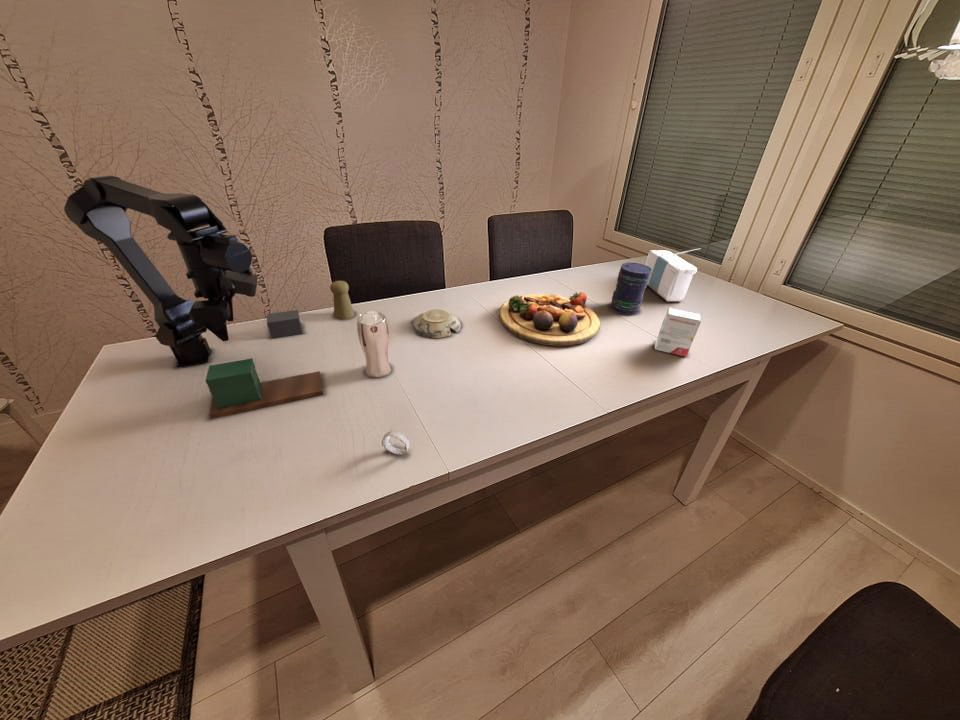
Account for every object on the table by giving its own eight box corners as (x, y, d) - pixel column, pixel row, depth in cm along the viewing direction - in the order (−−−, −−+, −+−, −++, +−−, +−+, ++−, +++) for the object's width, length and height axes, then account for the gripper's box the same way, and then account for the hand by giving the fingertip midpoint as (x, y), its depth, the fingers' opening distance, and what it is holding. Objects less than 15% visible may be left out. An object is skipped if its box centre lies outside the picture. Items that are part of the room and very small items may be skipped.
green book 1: (213, 399, 76) (209, 390, 75) (217, 384, 80) (212, 374, 79) (257, 391, 79) (253, 381, 78) (258, 376, 83) (255, 367, 82)
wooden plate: (567, 296, 136) (571, 274, 132) (619, 339, 112) (627, 315, 107) (485, 304, 127) (487, 282, 122) (523, 354, 102) (526, 328, 98)
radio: (638, 281, 152) (654, 231, 141) (657, 281, 153) (674, 232, 142) (665, 303, 135) (684, 249, 124) (685, 303, 136) (707, 249, 125)
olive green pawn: (348, 320, 113) (342, 287, 107) (330, 318, 114) (323, 284, 108) (357, 312, 118) (352, 279, 112) (340, 309, 119) (334, 277, 113)
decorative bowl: (426, 311, 121) (402, 331, 110) (426, 300, 119) (401, 319, 108) (468, 321, 117) (447, 343, 105) (468, 310, 115) (447, 332, 103)
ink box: (686, 349, 109) (701, 313, 102) (686, 357, 105) (702, 321, 98) (655, 341, 112) (668, 306, 105) (654, 349, 108) (667, 313, 101)
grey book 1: (269, 330, 102) (266, 322, 100) (269, 321, 106) (267, 313, 104) (300, 326, 105) (298, 318, 103) (299, 317, 109) (297, 309, 107)
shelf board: (210, 418, 77) (208, 414, 76) (215, 395, 83) (213, 391, 82) (323, 394, 85) (322, 390, 84) (320, 375, 91) (319, 371, 90)
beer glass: (367, 381, 89) (359, 327, 81) (361, 366, 94) (352, 313, 86) (396, 374, 92) (390, 321, 84) (388, 360, 97) (382, 308, 89)
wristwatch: (389, 443, 73) (386, 425, 71) (412, 450, 72) (410, 431, 69) (382, 454, 71) (379, 436, 68) (405, 461, 70) (403, 442, 67)
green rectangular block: (209, 390, 75) (205, 380, 73) (213, 374, 79) (209, 365, 77) (254, 381, 78) (250, 372, 76) (255, 367, 82) (252, 357, 80)
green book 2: (218, 408, 77) (213, 399, 76) (221, 392, 82) (217, 384, 80) (260, 400, 80) (257, 391, 79) (261, 385, 85) (258, 376, 83)
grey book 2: (271, 338, 103) (269, 330, 102) (271, 329, 107) (269, 321, 106) (302, 333, 106) (300, 326, 105) (301, 324, 110) (299, 317, 109)
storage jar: (641, 307, 131) (655, 266, 123) (635, 317, 124) (648, 275, 116) (614, 300, 135) (624, 260, 127) (606, 309, 128) (617, 268, 120)
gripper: (244, 277, 70) (266, 346, 79) (252, 246, 84) (270, 307, 93) (174, 283, 66) (205, 354, 75) (194, 249, 80) (218, 313, 89)
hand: (228, 330), depth 83 cm, fingers open, 9 cm apart
